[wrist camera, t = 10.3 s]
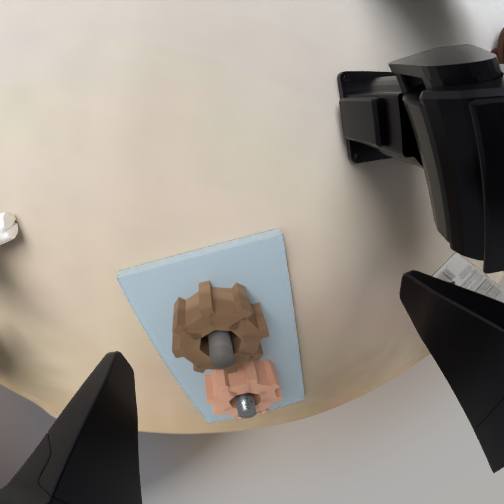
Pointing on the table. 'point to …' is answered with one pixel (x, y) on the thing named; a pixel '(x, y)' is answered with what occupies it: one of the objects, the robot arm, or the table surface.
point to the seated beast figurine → (7, 227)
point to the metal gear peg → (245, 405)
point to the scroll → (500, 48)
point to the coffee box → (469, 277)
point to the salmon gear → (243, 387)
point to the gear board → (224, 276)
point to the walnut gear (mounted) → (218, 328)
